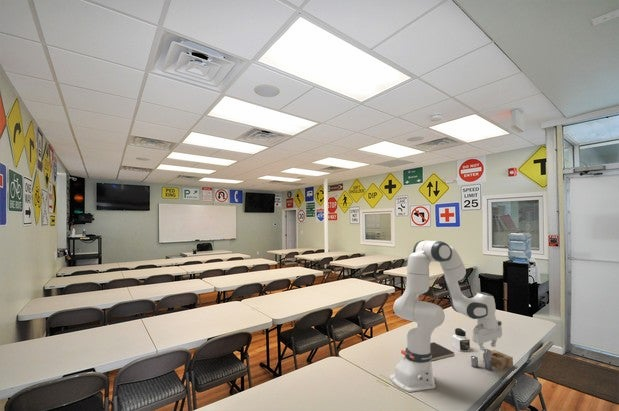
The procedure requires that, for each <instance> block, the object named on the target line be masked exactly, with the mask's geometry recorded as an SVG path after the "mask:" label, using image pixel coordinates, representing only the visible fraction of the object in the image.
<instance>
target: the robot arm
mask: <svg viewBox="0 0 619 411" xmlns="http://www.w3.org/2000/svg"><path fill="white" fill-rule="evenodd" d="M432 262H438V263H439V264H440V267H441V269H442V272H443V275H444V280H445V281H444V282H445V285H446V287H447V290H448V293H449V296H450V297H449V299H450V306H451V308H452V309H453V311H455V312H456V313H459V314H462V315H463V316H465V317H467V318H469V319H473V320H476V321H477V322H476V323H477V325H475V327H473V329H472V341H473V343H475V344H477V345H478V346H479V350H480V351H482V352H483V351H484V350H485V349H486V347H485V346H484V343H485V344H486V343H488V342H490V341H491V342H490V346H491V347H492V348H494V347H495V348H496V346H497V344H496V343H497V341H498V339H501V338H502V336H503V328H502V327H503V322H502V321H501V320H499V319H497V316H496V302H495V300H496V299H495V298H494V296H493V295H492V294H491V293H487V292H482V291H478V292H477V293H476V295H474V296H473V297H471V298H469V297H467V296H465V295H464V294H463V293H462V291H461V288H460V284H459V281H460V280H462V279H464V278H465V277H466V274H467V271H466V267H465V264H464V261H463V260H462V258H461V256H460V254H459V253H458V251H457V249H456V248H455V247H453V246H452V245H449V244H447V243H446V242H444V241H441V240H440V241H437V240H433V239H432V240H431V239H429V240H424V239H423V240H418V241H417V242H416V243H414V246H413V250H412V253H410V254H409V255H408V259H407V267H406V284H405V285H406V286H405V290H404V291H403V294H402V295H401V296H399V297H398V298H397V299H395V301H394V302H393V306H392V307H393V313H394V314H395V316H396V317H398V318H401V319H403V320H405V321H410V322H414V323H416V324H417V327H413V328H411V329H409V331H408V332H407V334H406V343H407V347H406V348H407V349H406V348H405V350H404V349H401V350H400V353H401V354H402V355H403V356H404V357H403V358H402V359H401V360H400V361H399V362H398V363H397V364H396V365H395V367H394V373H392V374H390V375H389V380H390V381H391V382H392V383H393V384H394V385H395V386H396V387H398V388H400V389H401V390H403V391H405V392H407V393H411V392H417V391H425V390H426V391H427V390H430V389H431V390H432V389H436V384H435V382H436V381H435V377H434V372H433V365H432V361H431V359H432V355H431V350H430V343H431V339H432V338H431V337H432V333H433V332H434V331H435V329H437V328H439V327H440V326H442V325H443V323H444V322H445V319H446V315H445V311H444V309H443V308H442V306H440V305H438V304H435V303H432V302H428V301H424V300H423V301H422V300H419V296H420V295H423V294H425V293H427V292H428V291H429V289H430V265H431V263H432Z"/></svg>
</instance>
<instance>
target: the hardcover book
mask: <svg viewBox="0 0 619 411" xmlns="http://www.w3.org/2000/svg"><path fill="white" fill-rule="evenodd" d="M406 349H407V347H406V348H405V350H406ZM430 350H431V355H432V359H431V362H432V361H436V360H441V359H444V358H447V357H452V356H454V355H455V352H454V351H452V350H450V349H448V348H446V347H444V346H442V345H441V344H439V343H436V342H430Z"/></svg>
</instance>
